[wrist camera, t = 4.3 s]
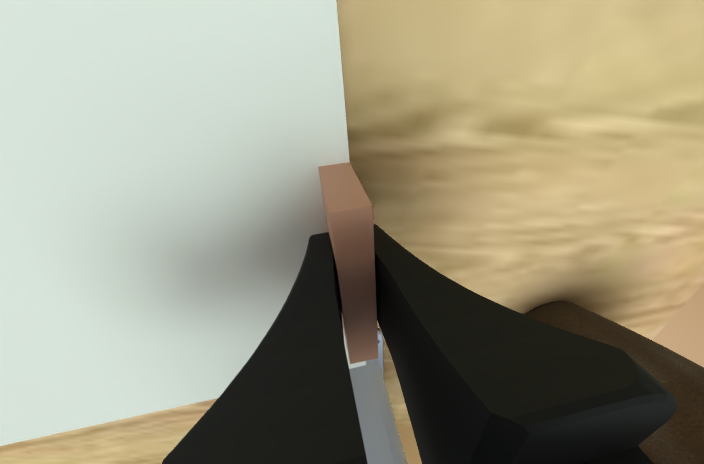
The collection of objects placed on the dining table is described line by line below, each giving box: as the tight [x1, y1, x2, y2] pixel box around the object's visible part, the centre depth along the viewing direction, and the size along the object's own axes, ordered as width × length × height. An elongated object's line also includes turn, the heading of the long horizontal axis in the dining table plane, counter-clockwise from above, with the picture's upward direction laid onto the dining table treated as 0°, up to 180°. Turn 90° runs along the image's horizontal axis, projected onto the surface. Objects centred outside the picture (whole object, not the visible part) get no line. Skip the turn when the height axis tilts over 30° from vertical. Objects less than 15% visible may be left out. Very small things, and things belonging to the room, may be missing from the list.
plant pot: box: [525, 302, 704, 464], centre depth 21 cm, size 15×15×16 cm
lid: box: [0, 0, 378, 446], centre depth 8 cm, size 17×21×4 cm
